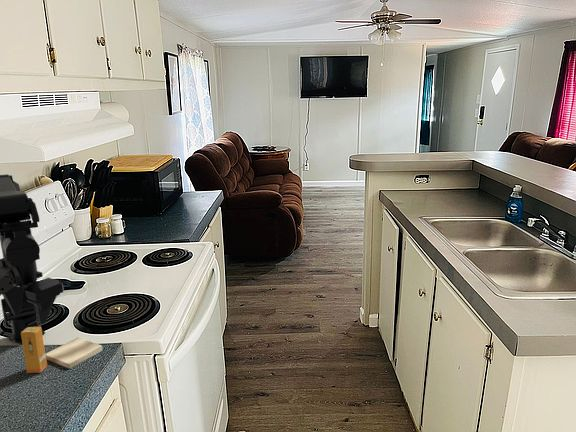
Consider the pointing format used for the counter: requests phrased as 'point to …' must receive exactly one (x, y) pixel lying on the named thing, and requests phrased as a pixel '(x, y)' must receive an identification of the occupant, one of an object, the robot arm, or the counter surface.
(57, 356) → the birch board
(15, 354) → the counter surface
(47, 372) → the counter surface
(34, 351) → the supplement box
